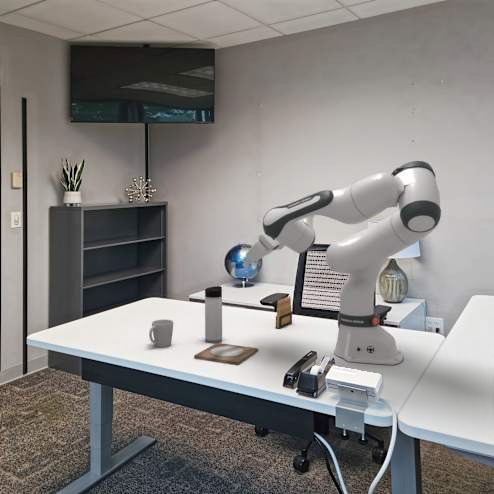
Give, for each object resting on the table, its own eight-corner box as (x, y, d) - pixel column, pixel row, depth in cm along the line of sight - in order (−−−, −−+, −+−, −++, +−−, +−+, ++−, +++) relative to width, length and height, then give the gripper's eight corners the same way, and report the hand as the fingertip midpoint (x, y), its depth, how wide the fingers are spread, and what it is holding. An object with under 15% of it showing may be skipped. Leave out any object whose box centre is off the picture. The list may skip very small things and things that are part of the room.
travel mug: (226, 340, 182) (226, 287, 180) (213, 344, 177) (213, 289, 176) (214, 337, 186) (214, 285, 185) (201, 340, 182) (201, 287, 180)
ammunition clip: (279, 329, 198) (279, 299, 197) (275, 328, 199) (275, 299, 198) (292, 323, 207) (292, 295, 206) (288, 323, 208) (288, 295, 207)
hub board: (258, 351, 169) (258, 347, 169) (238, 365, 155) (238, 361, 154) (217, 345, 176) (217, 341, 176) (194, 358, 161) (194, 354, 161)
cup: (178, 344, 177) (177, 321, 176) (158, 351, 169) (157, 327, 168) (162, 341, 181) (162, 318, 181) (142, 347, 173) (142, 323, 172)
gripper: (278, 226, 178) (253, 251, 184) (259, 234, 160) (232, 262, 165) (290, 239, 178) (264, 264, 183) (272, 248, 159) (244, 276, 164)
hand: (249, 263), depth 174 cm, fingers open, 8 cm apart
